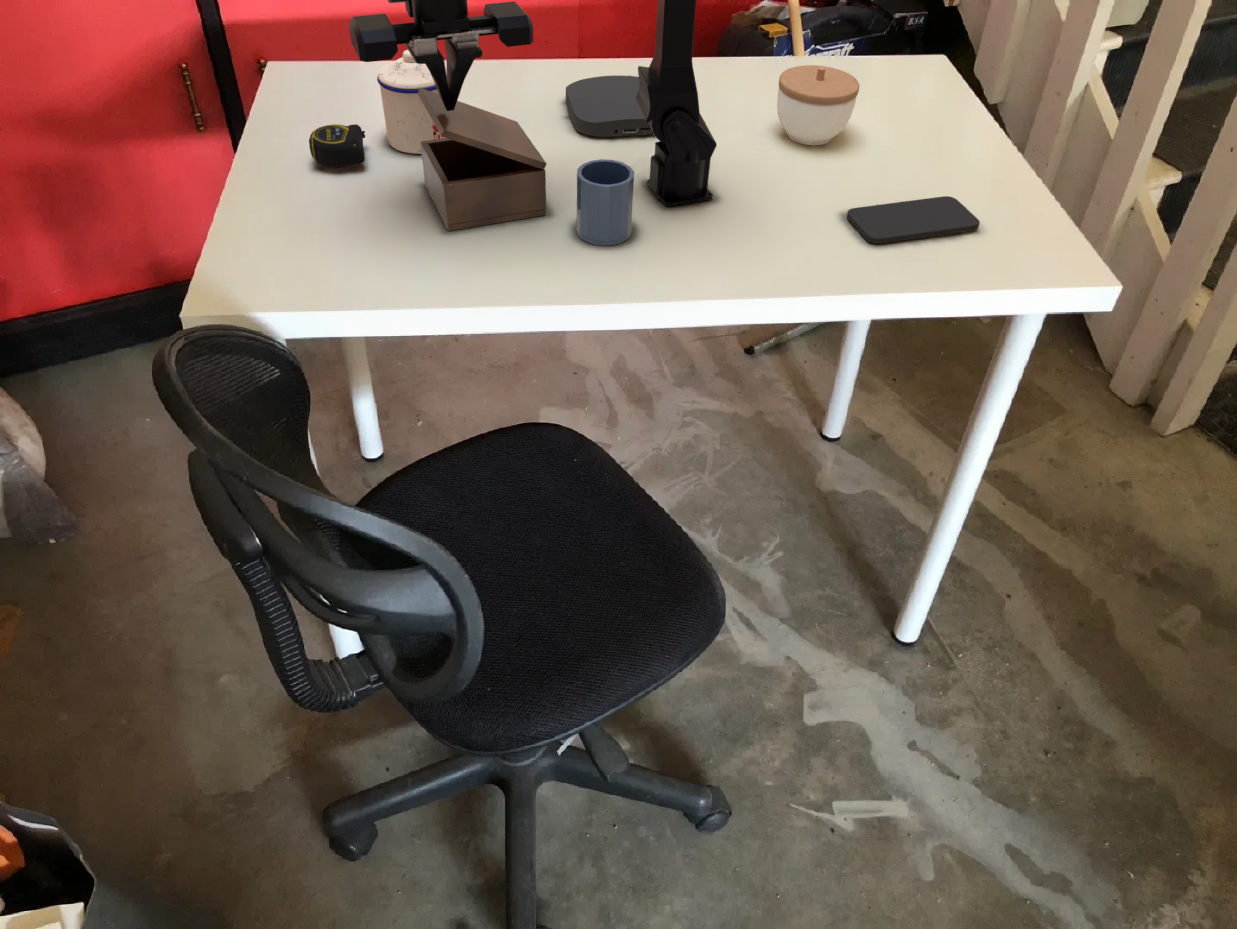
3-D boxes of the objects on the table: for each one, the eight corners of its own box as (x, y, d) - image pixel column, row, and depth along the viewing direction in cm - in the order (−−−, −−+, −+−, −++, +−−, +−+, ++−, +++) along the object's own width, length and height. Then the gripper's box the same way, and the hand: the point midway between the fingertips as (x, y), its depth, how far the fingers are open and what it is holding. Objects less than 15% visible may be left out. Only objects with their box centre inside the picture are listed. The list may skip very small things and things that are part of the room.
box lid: (441, 136, 101) (443, 129, 101) (417, 93, 109) (419, 87, 109) (544, 169, 109) (546, 163, 108) (514, 127, 116) (517, 121, 116)
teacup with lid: (449, 157, 122) (440, 67, 114) (379, 154, 122) (366, 64, 114) (462, 117, 131) (455, 31, 123) (397, 114, 131) (386, 28, 123)
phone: (844, 208, 115) (952, 194, 118) (842, 214, 115) (950, 200, 118) (871, 239, 110) (984, 224, 113) (870, 246, 110) (982, 230, 113)
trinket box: (862, 147, 129) (878, 78, 122) (794, 158, 126) (806, 88, 119) (822, 114, 136) (835, 48, 129) (757, 124, 133) (767, 57, 126)
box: (448, 231, 109) (443, 185, 105) (425, 185, 117) (420, 141, 113) (546, 215, 113) (545, 170, 109) (518, 171, 120) (516, 127, 116)
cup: (619, 214, 114) (621, 155, 108) (639, 240, 109) (642, 181, 104) (569, 222, 112) (569, 163, 107) (588, 249, 108) (588, 189, 102)
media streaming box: (561, 96, 137) (561, 75, 135) (658, 91, 140) (659, 71, 138) (577, 140, 127) (577, 119, 125) (681, 135, 130) (683, 114, 127)
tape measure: (367, 172, 119) (362, 144, 116) (311, 175, 118) (305, 147, 115) (367, 148, 124) (363, 120, 121) (314, 150, 123) (308, 122, 120)
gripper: (501, -71, 103) (508, 72, 114) (328, -59, 97) (353, 90, 108) (532, -40, 95) (536, 110, 106) (347, -25, 90) (371, 131, 101)
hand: (449, 109), depth 106 cm, fingers closed
